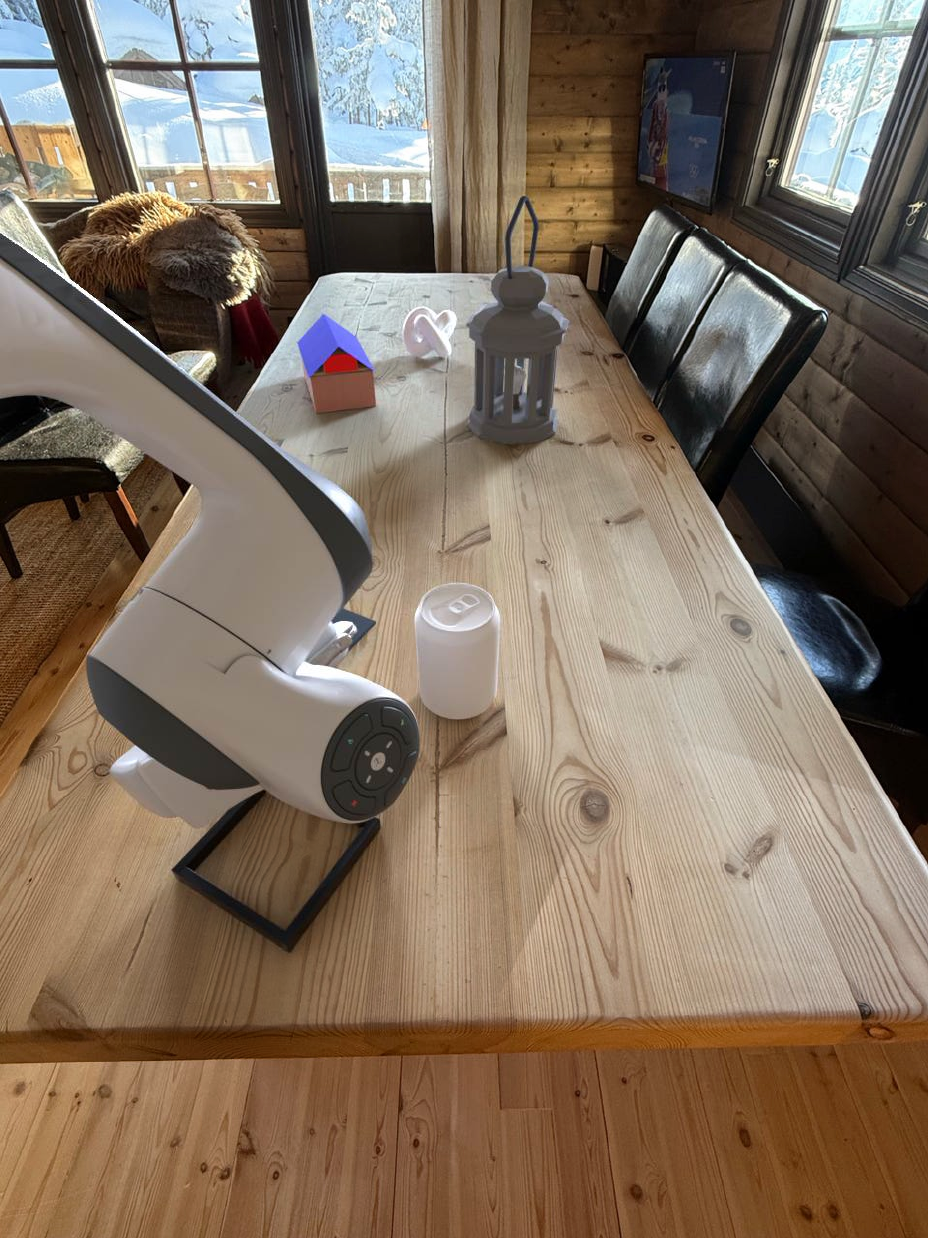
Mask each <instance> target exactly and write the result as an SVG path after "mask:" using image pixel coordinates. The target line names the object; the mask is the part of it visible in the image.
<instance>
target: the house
mask: <svg viewBox="0 0 928 1238" xmlns="http://www.w3.org/2000/svg"><path fill="white" fill-rule="evenodd" d="M296 343H297V347H298V349H299V352H300V358H301V363H302V371H303V375H304V377H303V378H304V380H305V383H306V386H307V389H308V392H309V396H310V398H311V402H312V405H313V408H314V412H315V414H321V413H330V412H338V411H346V410H355V409H363V408H371V407H376V406H377V400H376V391H375V390H376V389H375V379H374V372H375V371H376V370H375V369H374V367H373V365H372V363H371V361H370V359H369V357H368V356H367V354H366V352H365V349H364V348H363V346H362V344H361V343H360V341H359V339H358V337H357V336H356V335H355V334H353V333H352V332H351V331H349V330H348V329H346V328H345V327H343V326H342V325H340V324H339V323H338V322H336V321H335V320H334V319H332V318H331V317H329V316H328V315H327V314H325V313H322V315H320V316H319V318H318V319H317V320H316V321H315V322H314V323H313V324H312V325H311V326H310V328H309V329H308V330H307V331H306V332H305V333H304V334H303V335H302V336H301V337H300V339H299V340H298V341H297V342H296Z"/></svg>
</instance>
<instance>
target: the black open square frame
mask: <svg viewBox="0 0 928 1238" xmlns="http://www.w3.org/2000/svg"><path fill="white" fill-rule="evenodd" d="M267 793H268V792H267V791H266V790H262V791H260V792H257V793H255V794H254V795H252V796H250V797H248V798H246V799H245V800H243V801H241V802H240V803H238V804H237V805H235V806H233V807H232V808H230V809H229V810H227V811H226V812H225V813H223V814H222V815H221V817H220V818H219V819H218V820H217V821H216V822H215V823H214V824H213V825H212V826H211V827H210V828H209V829H208V830H207V831H206V833H204V835H203V836H201V838H200V839H199V840H198V841H197V842H196V843H195V844H194V845H193V846H192V847H191V848H190V849H189V851H187V852H186V854H185V855H184V856H183V857H182V858H181V859H180V860H179V861H178V862H177V863H176V864H175V865H174V866H173V867H172V869H171V873H172V874H173V875H174V878H175V879H176V880H177V881H178V882H180V883H182V884H183V885H185V886H186V887H188V888H189V889H190V890H192V891H194V892H196V893H197V894H198V895H200V896H201V897H203V898H205V899H206V900H207V901H209V902H210V903H212V904H214V905H215V906H216V907H218V908H220V909H221V910H223V911H224V912H226V913H227V914H228V915H230V916H232V917H234V918H235V919H236V920H238V921H239V922H241V923H243V924H244V925H246V926H247V927H249V928H250V929H252V930H253V931H255V932H256V933H258V934H259V935H261V936H263V938H265V939H267V940H268V941H269V942H271V943H273V944H275V945H276V946H278V948H281V949H282V950H284V951H286V952H287V953H288V954H290V953H292V951H293V950H294V949H295V947H296V945H297V944H298V943H299V941H300V940H301V939H302V937H303V936H304V935H305V934H306V932H307V931H308V929H309V928H310V927H311V925H312V923H314V921H315V920H316V918H317V917H318V916H319V914H320V913H321V911H322V910H323V909H324V907H325V906H326V905H327V904H328V902H329V901H330V899H331V898H332V896H333V895H334V894H335V892H336V891H337V890H338V888H339V887H340V886H341V884H342V883H343V882H344V880H345V879H346V877H348V875H349V873H350V872H351V870H352V869H353V868H354V866H355V865H356V864H357V863H358V861H359V860H360V858H361V857H362V856H363V854H364V853H365V852H366V850H367V849H368V847H369V846H370V845H371V843H372V842H373V840H374V839H375V838H376V836H377V835H378V834H379V833H380V831H381V830H382V827H381V826H382V825H381V819H380V818H378V817H377V816H376V817H374V818H372V819H370V820H367V821H364V822H360V823H352V824H353V825H355V826H357V827H359V828H361V829H360V831H359V832H358V834H357V835H356V836H355V838H354V839H353V840H352V841H351V843H350V844H349V846H348V847H347V848H346V849H345V850H344V852H343V854H342V855H341V856H340V858H339V859H338V860H336V861H337V862H335V864H334V865H333V867H332V868H331V869H330V871H329V872H328V873H327V875H326V876H325V877H324V879H323V880H322V881H321V883H320V884H319V885H318V887H317V888H316V889H315V890H314V892H313V893H312V895H311V896H310V897H309V898H308V900H307V901H306V902H305V903H304V905H303V906H302V908H301V909H300V910H299V912H298V913H297V914H296V916H295V917H294V918H293V920H291V922H290V924H288V926H287V927H286V929H284V928H282V927H280V926H279V925H277V924H276V923H275V922H273V921H271V920H270V919H268V918H267V917H266V916H264V915H262V914H260V913H259V912H257V910H254V909H253V908H251V907H250V906H248V905H246V904H245V903H244V902H242V901H240V900H239V899H237V898H235V897H234V896H233V895H231V894H230V893H228V892H226V891H225V890H223V889H222V888H220V887H219V886H217V885H215V883H212V882H211V881H209V880H208V879H207V878H204V877H203V876H201V875H200V874H198V873H197V872H195V871H196V870H197V869H198V868H199V867H200V866H201V865H202V863H204V861H205V860H206V859H208V857H209V856H210V855H211V854H212V853H213V852H214V851H215V849H216V848H217V847H218V846H219V845H220V844H221V843H222V842H223V841H224V840H225V838H226V837H228V836H229V834H230V833H231V832H232V831H233V830H234V829H235V828H236V827H237V826H238V825H239V823H241V821H242V820H243V819H244V818H245V817H246V816H247V815H248V814H249V813H250V812H251V811H252V809H253V808H254V807H255V806H256V805H257V804H258V803H259V802H260V801H261V799H263V798H264V797H265V795H266V794H267Z"/></svg>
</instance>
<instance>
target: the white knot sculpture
mask: <svg viewBox="0 0 928 1238" xmlns="http://www.w3.org/2000/svg"><path fill="white" fill-rule="evenodd" d="M456 325H457V316H456V314H455V312H453V311H451V310H448V309H446V310H443V311H441V312H440V313H439V314H438V315H437V314H436V312H435V311H433V310H432V309H430V308H428V307H426V306H418V307H416V308H414V309H413V310H411V311H410V312H409V313H408V315H407V316H406V318H405V320H404V323H403V326H402V343H403V346H404V348H405V350H406V351H407V353H408V354H409V355H411V356H413V357H416V358H423V357H425V356H427V355H429V354H430V353H431V352H432V351H433V350H434V351H435V352H436V354H437V355H438V356H439V357H440V358H443V359H447V358H448V357H450V355H451V354H452V347H451V343H450V342H449V338H450V337H451V336H452V334H453V333H454V330H455V328H456Z"/></svg>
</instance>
